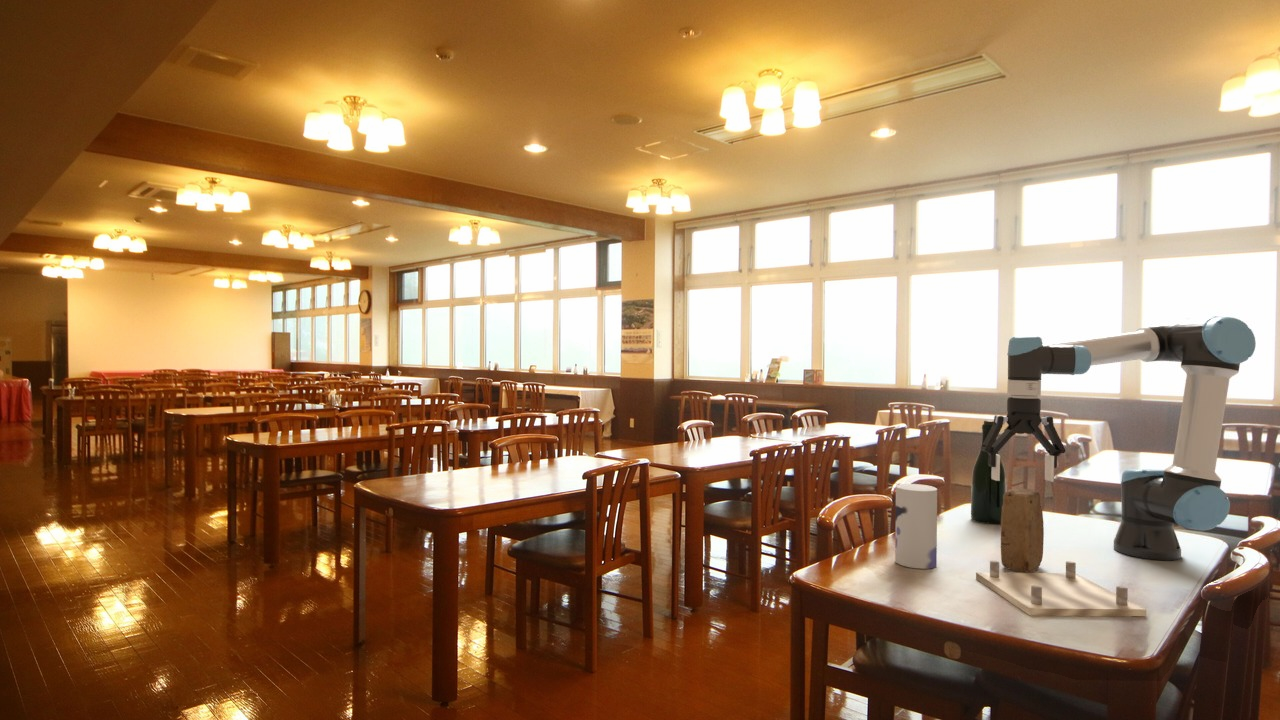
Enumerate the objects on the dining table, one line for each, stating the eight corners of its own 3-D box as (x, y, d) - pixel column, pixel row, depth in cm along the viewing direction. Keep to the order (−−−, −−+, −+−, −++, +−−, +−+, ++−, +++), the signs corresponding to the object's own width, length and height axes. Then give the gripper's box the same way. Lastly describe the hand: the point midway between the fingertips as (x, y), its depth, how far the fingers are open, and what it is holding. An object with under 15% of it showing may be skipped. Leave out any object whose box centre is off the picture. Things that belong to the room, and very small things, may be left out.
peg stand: (1075, 579, 169) (1075, 558, 169) (1145, 616, 145) (1146, 592, 145) (975, 578, 170) (976, 558, 170) (1029, 615, 146) (1030, 591, 146)
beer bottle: (1000, 518, 234) (1001, 419, 233) (1011, 525, 223) (1012, 422, 223) (967, 516, 235) (967, 418, 235) (975, 524, 225) (976, 421, 225)
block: (1027, 575, 172) (1028, 494, 172) (997, 568, 178) (997, 489, 178) (1047, 567, 179) (1048, 489, 179) (1017, 560, 185) (1018, 485, 185)
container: (888, 558, 186) (889, 483, 186) (924, 557, 187) (925, 483, 187) (906, 569, 176) (906, 490, 176) (944, 569, 177) (944, 490, 177)
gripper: (981, 397, 175) (980, 482, 175) (1082, 398, 174) (1080, 483, 174) (967, 395, 182) (966, 476, 182) (1064, 396, 182) (1062, 478, 182)
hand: (1022, 480), depth 178 cm, fingers open, 13 cm apart
